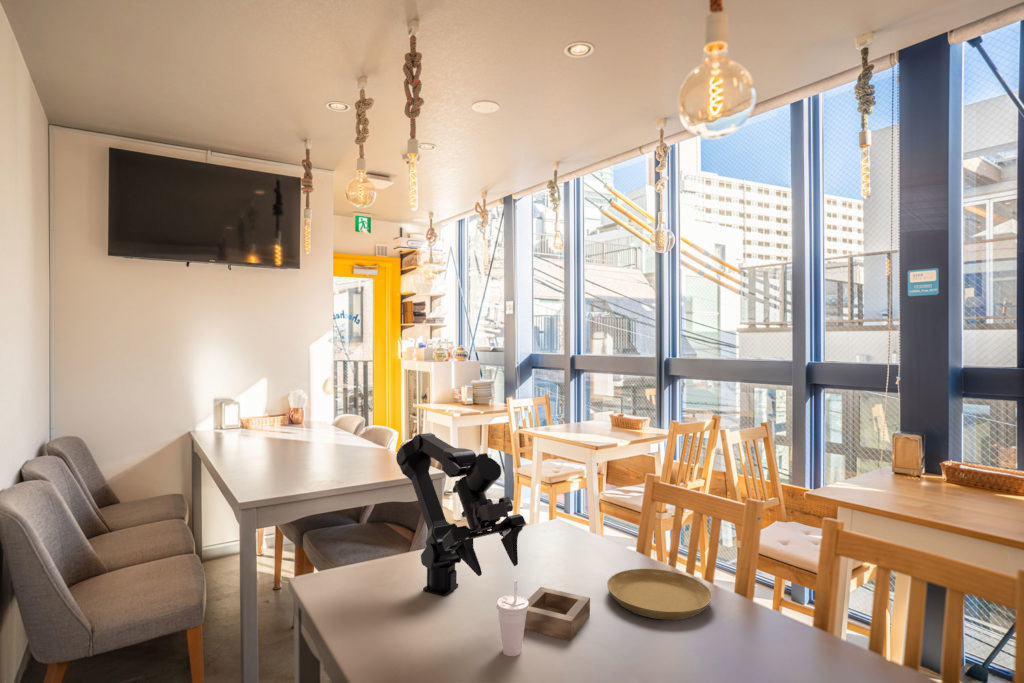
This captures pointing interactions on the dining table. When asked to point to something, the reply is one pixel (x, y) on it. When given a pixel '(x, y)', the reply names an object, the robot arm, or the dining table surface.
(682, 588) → the plant saucer
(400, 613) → the dining table surface
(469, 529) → the robot arm
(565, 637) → the caddy
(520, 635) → the smoothie
